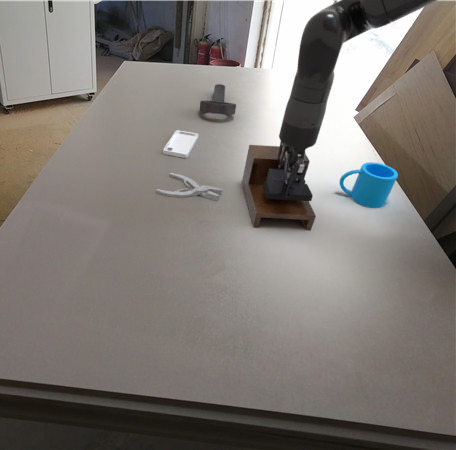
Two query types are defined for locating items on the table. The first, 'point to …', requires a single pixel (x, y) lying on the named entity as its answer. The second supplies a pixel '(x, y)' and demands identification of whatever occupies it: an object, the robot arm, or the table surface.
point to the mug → (371, 184)
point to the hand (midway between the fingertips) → (283, 190)
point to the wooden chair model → (253, 189)
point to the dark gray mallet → (218, 103)
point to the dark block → (275, 187)
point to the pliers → (197, 190)
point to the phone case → (180, 144)
